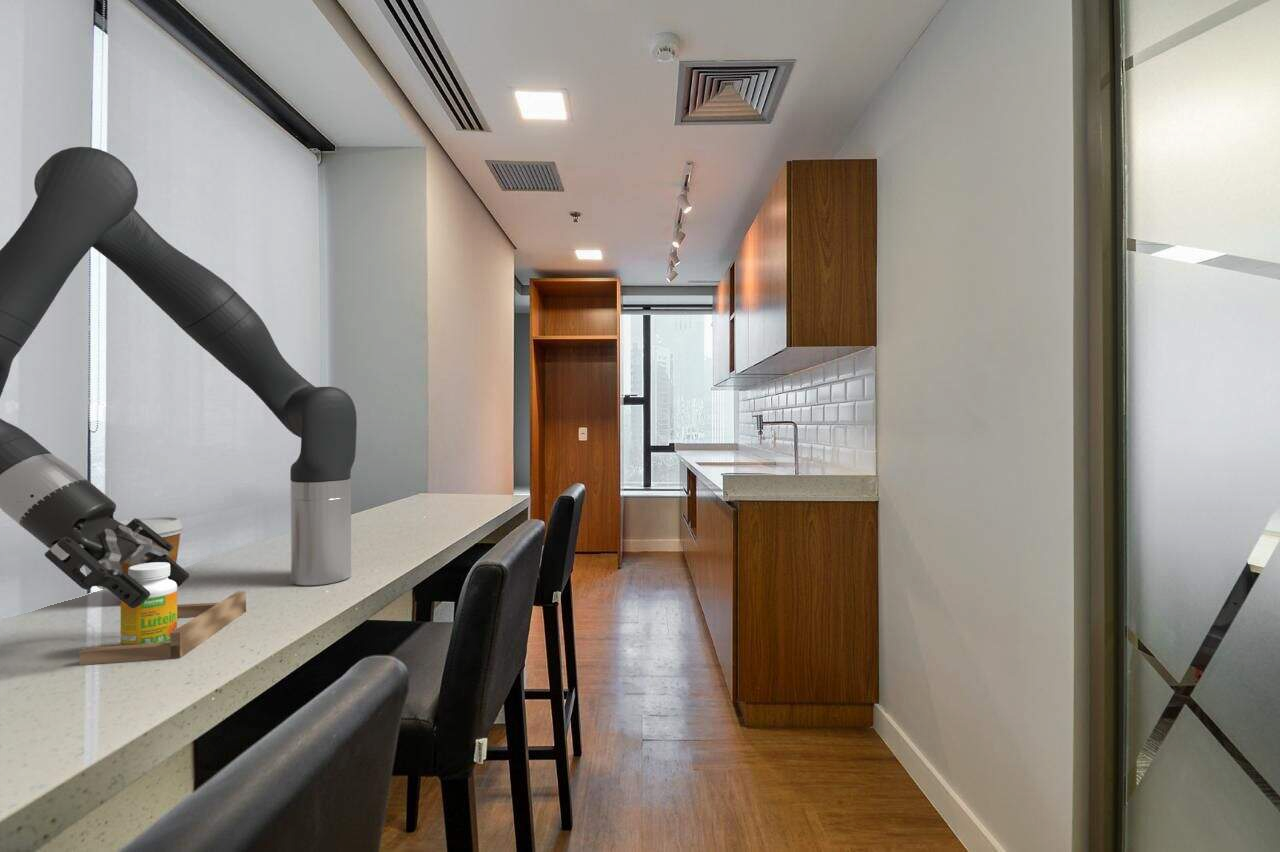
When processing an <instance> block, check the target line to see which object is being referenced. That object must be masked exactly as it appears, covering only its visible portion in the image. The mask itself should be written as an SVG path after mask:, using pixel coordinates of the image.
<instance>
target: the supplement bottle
mask: <svg viewBox="0 0 1280 852" xmlns="http://www.w3.org/2000/svg"><path fill="white" fill-rule="evenodd" d="M128 575H130V576H131V577H132V578H133V579H135V580H136V581H137V582H138V583H139V584H141V585H142V586H143V587H144V588H146V589H147V590H148V591H149V592H150V596H149V597H148V598H147V599H146V600H145V601H144V602H143V603H142V604H141V605H140V606H138V607H136V608H131V607H129V606H128V605H127V604H126V603H124V602H123V601H122V600H121V604H120V644H121V646H122V645H138V644H153V643H169V642H170V633H171V632H173V631H174V630H176V629H177V628H178V618H177V605H178V587H177V584H176V582H175V581H173V580H170V579H168V576H170V564H169V563H166V562H153V563H144V564H139V565H134V566H131V567H129V569H128Z"/></svg>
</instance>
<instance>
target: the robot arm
mask: <svg viewBox="0 0 1280 852" xmlns="http://www.w3.org/2000/svg"><path fill="white" fill-rule="evenodd" d="M33 184H34V190H35V194H36V199H35V201H34V204H33V206H32V207H31V209H30V211H29V212H28V214H27V216H25V218H24V220H23V221H22V222H21V225H20V226H19V227H18V228H17V230H15V232H14V234H13V235H12V236H11V237H10V239H9V240H8V241H7V242H6V243H5V245H3V247H2V248H1V249H0V398H1V396H2V394H3V392H4V388H5V386H6V383H7V380H8V378H9V374H10V371H11V367H12V364H13V361H14V359H15V357H16V356H17V355H18V353H20V351H21V350H22V348H23V347H24V346H25V344H26V342H27V341H28V339H29V338H30V337H31V336H32V334H33V332H35V329H36V328H37V327H38V325H39V324H40V322H41V321H42V319H43V317H44V316H45V314H47V312H48V309H49V308H50V307H51V305H52V303H53V302H54V300H55V299H56V297H57V296H58V294H59V293H60V291H61V289H62V288H63V286H64V284H65V283H66V282H67V280H68V278H69V276H71V274H72V273H73V271H74V270H75V268H76V267H77V266H78V264H79V263H80V261H82V260H83V258H84V257H85V255H86V254H87V253H88V252H89V251H90V249H92V248H93V249H94V250H96V251H97V252H98V253H100V254H101V255H103V257H105V258H106V259H107V260H109V261H110V262H111V263H113V264H114V265H115V266H116V267H117V268H118V269H119V270H121V271H122V273H124V274H125V275H126V276H127V277H128V278H129V279H130V280H131V281H132V282H133V283H134V284H135V285H136V286H137V287H138V288H139V289H140V290H141V291H142V292H143V293H144V294H145V295H146V296H147V297H148V298H149V299H150V300H151V301H152V302H153V303H155V305H156V306H158V308H160V309H161V310H162V312H164V313H165V314H166V315H167V316H168V317H169V318H170V319H172V321H173V322H174V323H175V324H177V325H178V327H179V328H180V329H182V331H184V332H185V333H186V334H187V335H188V336H189V337H191V339H192V340H193V341H195V343H197V344H198V345H199V346H200V347H202V348H203V349H204V350H205V351H207V353H209V354H210V355H211V356H212V357H213V358H215V360H217V361H218V362H219V363H220V364H221V365H222V366H223V367H225V368H226V369H227V370H228V371H229V372H231V374H233V376H235V377H237V379H239V380H240V381H241V382H242V383H243V384H245V385H246V386H247V387H248V388H249V389H251V391H252V392H254V394H255V395H256V396H257V397H258V398H260V400H261V401H262V402H263V403H264V404H265V406H266V407H267V408H268V409H269V410H270V411H271V412H272V414H273V415H274V416H275V417H276V418H277V419H278V420H279V422H280V423H281V424H283V426H284V427H285V428H286V429H287V430H288V431H289V432H290V433H292V435H294V436H297V437H298V438H300V451H299V452H300V453H299V455H298V458H297V459H296V461H294V462H293V463H292V464H291V466H290V473H289V474H290V550H291V551H290V554H291V555H290V557H291V558H290V572H291V573H290V574H291V576H290V577H291V581H290V582H291V583H292V584H293V585H297V586H319V585H320V586H321V585H327V584H334V583H338V582H342V581H344V580H347V579H349V578H351V576H352V499H351V498H352V495H351V492H352V491H351V486H352V485H351V484H352V483H351V473H352V469H353V465H354V463H355V460H356V454H357V453H356V449H357V427H358V426H357V421H358V420H357V412H356V411H357V409H356V406H355V403H354V401H353V399H352V397H351V396H350V394H348V392H346V391H345V390H343V389H341V388H339V387H334V386H315V385H313V384H312V383H311V382H310V381H308V380H307V379H306V378H305V377H303V376H302V374H300V373H299V372H298V371H297V370H295V369H294V368H293V367H292V366H291V365H290V364H289V362H288V361H286V359H285V358H284V356H283V355H282V354H281V352H280V351H279V349H278V347H277V345H276V343H275V341H274V339H273V337H272V335H271V333H270V331H269V329H268V327H267V326H266V324H265V322H264V321H263V319H262V318H261V316H259V314H258V313H257V312H256V310H254V309H253V307H252V306H251V305H249V303H248V302H247V301H246V300H245V299H243V297H242V296H241V295H240V294H239V293H238V292H237V291H236V290H235V289H234V288H233V287H232V286H231V285H230V284H228V283H227V282H226V281H225V280H223V278H222V277H220V276H218V275H217V274H215V273H214V272H213V271H212V270H210V269H208V268H207V267H206V266H203V265H202V264H200V263H199V262H197V261H196V260H194V259H193V258H191V257H189V256H188V255H186V254H184V253H183V252H181V251H180V250H179V249H177V248H175V247H174V245H172V244H170V243H169V242H167V240H165V239H164V238H163V237H162V236H161V235H160V234H159V233H158V232H157V231H155V229H154V228H153V227H152V226H151V225H150V224H149V223H148V222H147V221H146V220H145V218H144V217H142V215H140V213H139V212H138V211H137V210H136V208H135V207H136V205H137V201H138V197H139V191H138V190H139V188H138V185H137V181H136V179H135V177H134V175H133V173H132V171H131V170H130V169H129V167H127V166H126V164H125V163H124V162H123V161H121V160H120V159H119V158H118V157H116V156H115V155H114V154H113V155H112V154H111V153H109V152H107V151H104V150H102V149H100V148H95V147H91V146H74V147H69V148H65V149H61V150H60V151H58V152H56V153H54V154H53V155H51V156H50V157H49V158H48V159H47V160H46V161H45V162H44V163H43V164H42V166H41V167H40V168H38V170H37V172H36V174H35V177H34V183H33ZM0 510H1V511H2V512H4V514H6V515H7V516H8V517H10V519H12V520H13V521H15V522H16V523H17V524H18V525H19V526H21V528H23V529H24V530H26V531H27V532H28V533H30V535H32V536H33V537H34V538H35V539H37V541H39V542H40V543H42V544H43V545H44V546H46V547H47V548H48V550H47V551H46V552H44V557H45V558H46V559H48V560H49V561H50V562H51V563H53V564H54V566H55V567H57V569H59V570H60V571H62V572H63V574H65V575H66V576H67V577H68V578H69V579H70V580H71V581H73V582H74V583H75V584H76V585H78V586H79V587H80V588H81V589H83V590H87V591H88V590H90V589H92V588H93V587H97V588H98V589H101V590H105V589H107V590H108V591H109V592H111V593H112V594H113V595H115V596H116V597H117V598H118V600H119V599H121V600H122V601H123V602H124V603H126V604H127V605H128V606H129V607H131V608H136V607H138V606H140V605H141V604H142V603H143V602H144V601H145V600H146V599H147V598H148V597H149V596H150V592H149V591H148V590H147V589H146V588H144V587H143V586H142V585H141V584H139V583H138V582H137V581H136V580H135V579H133V578H132V577H131V576H130V575H128V574H127V573H124V574H122V573H123V570H122V567H121V565H120V563H121V562H124V563H127V564H130V565H133V564H144V563H153V562H166V563H169V564H170V576H168V579H170V580H173V581H175V582H176V584H177V588H178V587H181V586H182V585H183V584H184V583H185V582H186V581H187V580H188V579H189V578H190V573H189V572H188V571H186V570H185V569H184V567H182V566H181V565H179V564H178V563H177V562H176V563H175V562H174V561H173V560H172V559H171V558H169V557H168V555H169V552H170V551H171V550H172V549H173V546H172V545H171V544H170V543H168V542H167V541H166V540H165V539H163V538H162V537H161V536H160V535H158V534H157V533H156V532H154V531H153V530H152V529H151V528H149V527H148V526H147V525H146V524H144V523H143V522H142V521H141V520H139V519H140V518H135V517H134V518H133V520H132V521H131V522H130V523H128V524H127V525H124V524H122V523H120V522H118V520H116V519H115V518H114V513H115V512H116V510H117V504H116V503H115V502H114V500H113V499H111V498H109V496H107V495H106V494H105V493H104V492H103V491H101V490H100V489H99V488H97V487H96V486H95V485H94V484H93V483H92V482H91V481H90V480H88V479H87V478H86V477H84V476H83V475H82V474H81V473H79V471H77V470H76V469H75V468H73V467H72V466H71V465H70V464H68V463H67V462H66V461H64V460H62V459H61V458H59V457H57V455H54V454H53V453H52V452H50V451H49V450H48V449H47V448H46V447H45V446H43V445H42V444H41V443H40V442H38V441H37V440H36V439H35V438H34V437H32V436H31V435H30V434H28V433H27V432H25V430H23V429H21V428H20V427H17V426H16V425H14V424H12V423H11V422H10V423H9V422H8V421H5V420H3V419H2V418H0ZM152 541H154V542H155V543H156V544H158V545H159V546H160V547H158V546H156V545H154V544H152ZM144 555H146V556H147V557H148V558H146V557H143V556H144ZM149 558H150V559H149ZM83 567H84V571H85V573H86V575H85V574H84V573H83V572H82V571H81V568H83ZM121 574H122V575H121Z"/></svg>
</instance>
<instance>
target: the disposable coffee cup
mask: <svg viewBox="0 0 1280 852" xmlns="http://www.w3.org/2000/svg"><path fill="white" fill-rule="evenodd" d="M133 519H134V518H133ZM133 519H125V520H119V521H118V520H117V521H118V522H120V523H122V524H124V525H127V524H128V523H130V522H131V521H132V520H133ZM138 519H139V520H141V521H142V522H143V523H144V524H146V525H147V526H148V527H149V528H151V529H152V530H153V531H154V532H156V533H157V534H158V535H160V536H161V537H162V538H163V539H165V540H166V541H167V542H168V543H170V544H171V545H172V546H173V549H172V550H171V551H170V552H169V555H168V557H169V558H171V559H172V560H173V561H174V562H175V563H177V561H178V553H179V547H180V546H179V545H180V538H181V533H183V529H185V525H183V524H182V521H181V518H180V517H173V516H159V517H158V516H157V517H156V516H155V517H142V518H138ZM152 544H154V545H156V546H158V547H160V546H159V545H158V544H156V543H155V542H154V541H152ZM143 557H146V558H148V557H147V556H146V555H144V556H143ZM149 559H150V558H149ZM120 565H121V567H122V570H123V573H122V574H124V573H127V574H128V569H129V567H131V566H134V565H139V564H133V565H130V564H127V563H124V562H121V563H120ZM122 574H121V575H122ZM118 600H119V601H118V602H119V604H120V603H121V599H119V598H118Z"/></svg>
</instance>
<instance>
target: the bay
mask: <svg viewBox="0 0 1280 852" xmlns="http://www.w3.org/2000/svg"><path fill="white" fill-rule="evenodd" d="M246 592H247V591H246V590H237V591H236V592H234V593H233V594H231V595H229V596H228V597H227V598H224V599H223V600H221V601H219V602H218V601H217V602H203V603H199V602H198V603H186V604H185V603H184V604H177V619H178V618H191V619H190V620H189V621H187V622H186V623H184V624H182V625H181V626H178V627H177V629H176V630H174V631H173V632H171V633H170V642H169V643H153V644H138V645H122V646H121V643H120V644H118V645H109V646H94V647H93V646H92V647H86V648H83V649H82V650H80V651H79V666H82V665H83V666H84V665H97V664H98V665H99V664H111V663H112V664H113V663H127V662H141V661H153V660H154V661H156V660H170V659H171V660H172V659H181V658H183V657H184V656H185V655H186V654H189V652H191V651H193V650H194V649H195V648H197V647H198V646H199V645H201V644H202V643H203V642H205V641H206V640H208V639H209V638H211V637H212V636H213V635H215V634H216V633H218V632H220V631H221V630H222V629H224V627H226V626H228V624H230V623H232V622H233V621H234V620H236V619H237V618H239V617H240V616H241V615H243V614H244V613H246V612H247V593H246Z"/></svg>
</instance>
